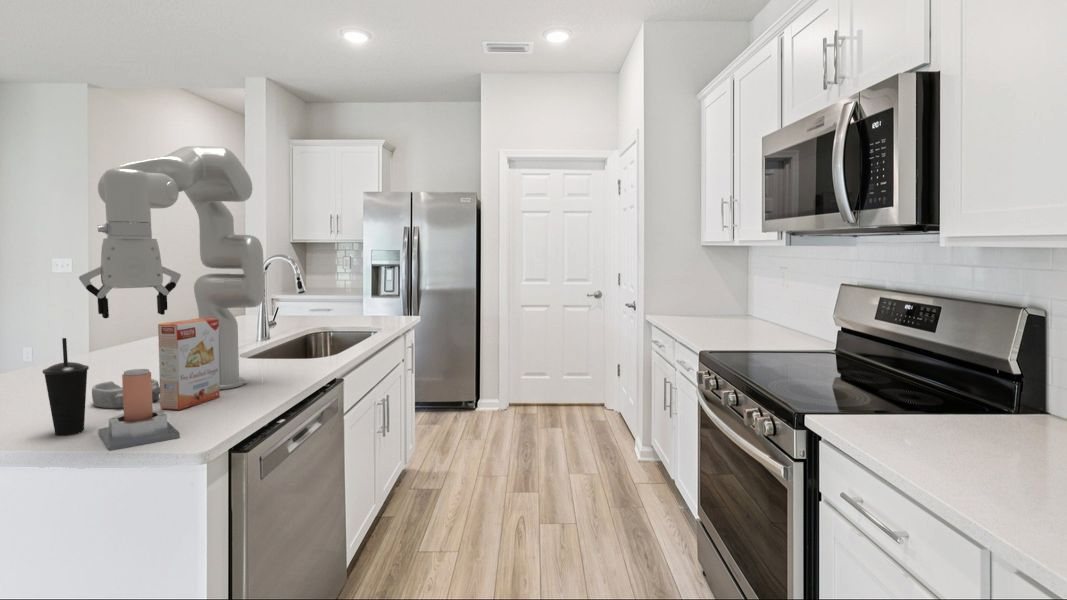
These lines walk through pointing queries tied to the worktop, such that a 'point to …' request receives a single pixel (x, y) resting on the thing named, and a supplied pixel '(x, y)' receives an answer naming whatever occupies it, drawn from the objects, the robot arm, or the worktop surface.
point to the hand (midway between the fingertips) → (134, 315)
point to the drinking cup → (67, 394)
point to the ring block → (137, 431)
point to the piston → (137, 395)
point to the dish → (116, 394)
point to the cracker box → (188, 362)
